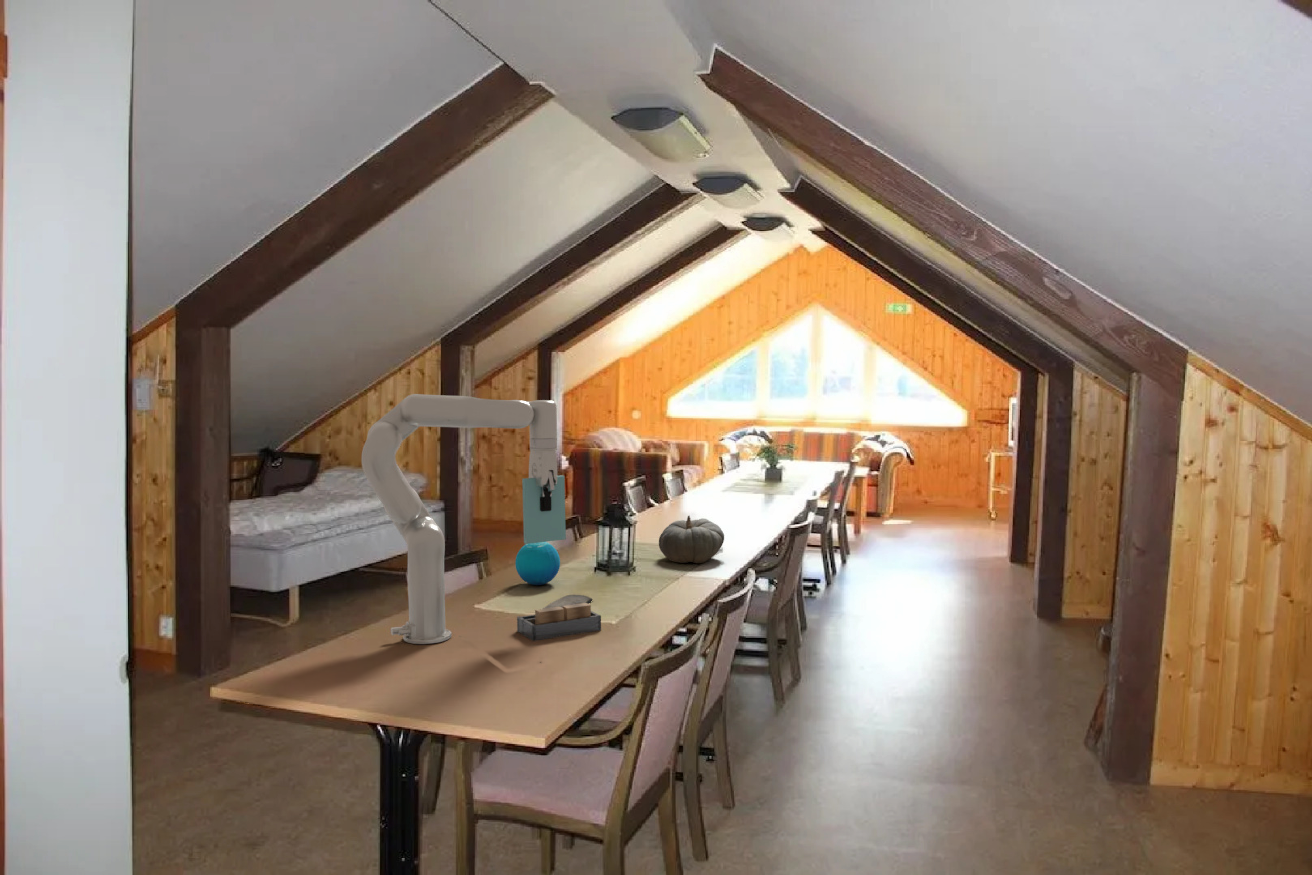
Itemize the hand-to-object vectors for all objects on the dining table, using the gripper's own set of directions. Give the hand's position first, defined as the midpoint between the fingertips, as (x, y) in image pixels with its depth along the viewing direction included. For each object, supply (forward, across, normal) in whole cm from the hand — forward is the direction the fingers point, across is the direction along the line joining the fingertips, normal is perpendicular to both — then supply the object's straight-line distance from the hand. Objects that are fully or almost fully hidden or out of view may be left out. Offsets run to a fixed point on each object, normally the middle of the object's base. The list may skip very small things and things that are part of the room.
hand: (544, 510), depth 262 cm
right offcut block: (+32, +12, +4) cm, 34 cm away
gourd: (+33, -58, +85) cm, 108 cm away
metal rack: (+33, +9, 0) cm, 34 cm away
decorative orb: (+33, -50, +19) cm, 63 cm away
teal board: (+9, 0, 0) cm, 9 cm away
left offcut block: (+32, +12, -4) cm, 34 cm away
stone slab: (+34, -13, +11) cm, 38 cm away
